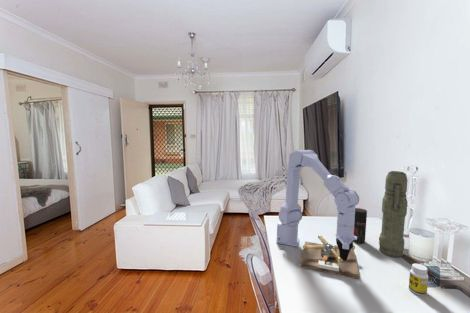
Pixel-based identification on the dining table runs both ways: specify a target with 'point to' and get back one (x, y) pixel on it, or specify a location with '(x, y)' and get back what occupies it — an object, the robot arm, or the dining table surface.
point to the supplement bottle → (418, 279)
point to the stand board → (314, 255)
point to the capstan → (326, 250)
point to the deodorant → (360, 225)
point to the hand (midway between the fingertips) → (343, 259)
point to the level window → (328, 266)
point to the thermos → (393, 214)
